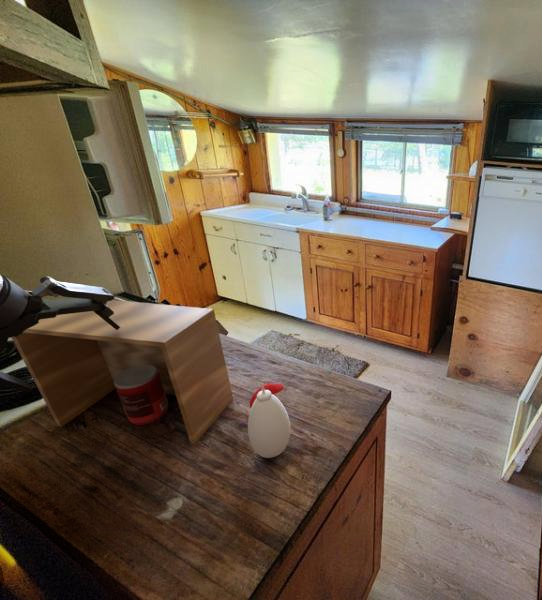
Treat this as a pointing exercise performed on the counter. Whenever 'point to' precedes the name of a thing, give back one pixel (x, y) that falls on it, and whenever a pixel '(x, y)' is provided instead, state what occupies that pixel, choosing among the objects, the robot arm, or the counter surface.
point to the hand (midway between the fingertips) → (73, 354)
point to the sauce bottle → (268, 425)
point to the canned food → (141, 394)
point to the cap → (271, 387)
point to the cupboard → (129, 358)
